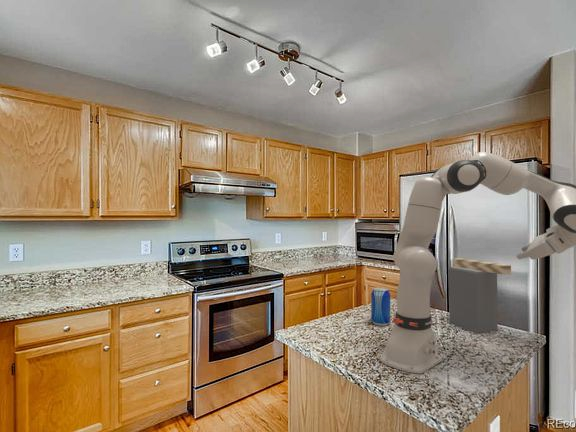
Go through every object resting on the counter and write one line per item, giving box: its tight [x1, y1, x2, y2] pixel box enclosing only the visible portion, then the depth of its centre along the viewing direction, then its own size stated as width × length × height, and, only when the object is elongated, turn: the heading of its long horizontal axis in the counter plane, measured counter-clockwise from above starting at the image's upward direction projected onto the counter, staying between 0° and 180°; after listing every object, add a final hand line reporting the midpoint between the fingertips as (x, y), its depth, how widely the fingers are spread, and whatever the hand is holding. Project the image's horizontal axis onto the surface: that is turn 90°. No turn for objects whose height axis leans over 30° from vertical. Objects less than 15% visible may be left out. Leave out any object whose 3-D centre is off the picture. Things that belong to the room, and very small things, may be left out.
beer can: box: [370, 286, 391, 327], centre depth 141 cm, size 8×8×16 cm
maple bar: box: [452, 257, 512, 276], centre depth 133 cm, size 24×4×4 cm, turn 20°
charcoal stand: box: [448, 266, 499, 335], centre depth 136 cm, size 14×12×26 cm
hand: (520, 253), depth 121 cm, fingers open, 8 cm apart
